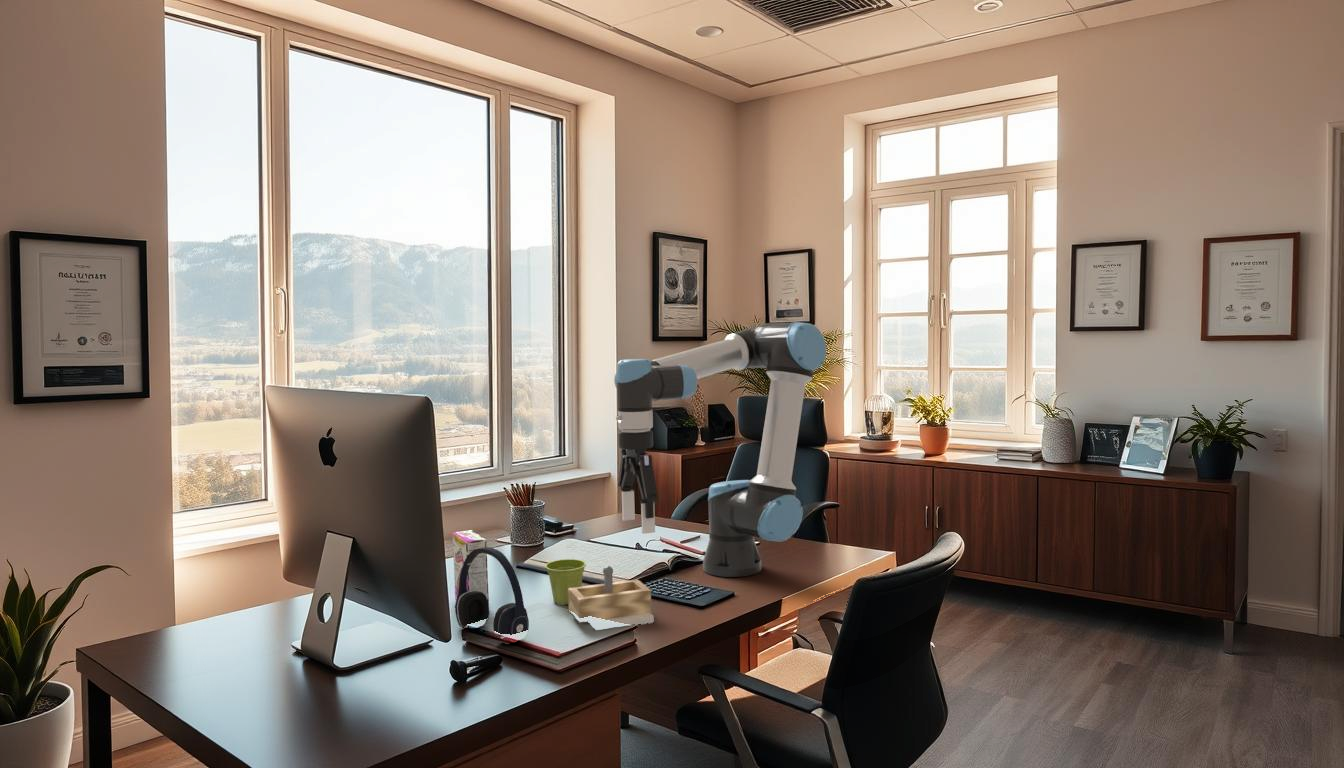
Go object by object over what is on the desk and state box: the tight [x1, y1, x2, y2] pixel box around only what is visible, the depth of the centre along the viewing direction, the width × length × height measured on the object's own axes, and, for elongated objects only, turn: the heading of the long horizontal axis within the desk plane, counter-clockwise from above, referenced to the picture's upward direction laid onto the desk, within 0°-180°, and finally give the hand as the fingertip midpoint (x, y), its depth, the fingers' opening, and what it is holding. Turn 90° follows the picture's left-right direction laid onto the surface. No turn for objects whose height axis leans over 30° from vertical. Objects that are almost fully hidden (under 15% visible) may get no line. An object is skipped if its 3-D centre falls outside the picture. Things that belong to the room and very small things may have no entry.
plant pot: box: [544, 558, 587, 606], centre depth 204 cm, size 9×9×9 cm
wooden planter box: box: [568, 578, 652, 619], centre depth 191 cm, size 16×9×5 cm, turn 111°
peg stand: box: [602, 565, 655, 626], centre depth 191 cm, size 13×13×12 cm
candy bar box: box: [451, 529, 490, 606], centre depth 202 cm, size 11×5×16 cm, turn 31°
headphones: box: [454, 546, 530, 635], centre depth 181 cm, size 20×7×18 cm, turn 47°
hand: (638, 526), depth 192 cm, fingers open, 13 cm apart
